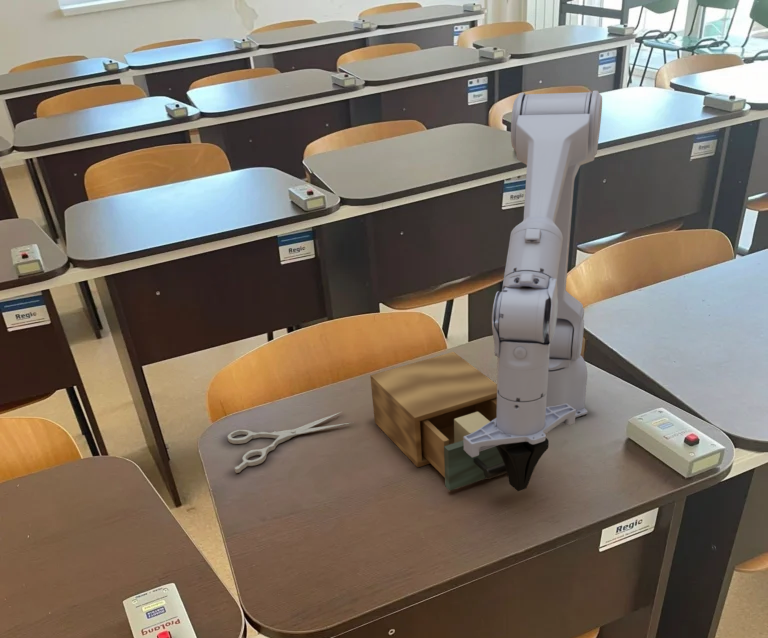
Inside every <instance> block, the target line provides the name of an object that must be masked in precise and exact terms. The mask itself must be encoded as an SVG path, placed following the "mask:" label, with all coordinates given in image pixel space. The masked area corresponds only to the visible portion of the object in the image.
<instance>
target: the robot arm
mask: <svg viewBox="0 0 768 638" xmlns="http://www.w3.org/2000/svg"><path fill="white" fill-rule="evenodd" d="M602 111H603V96H602V94H601V93H600V91H599V90H593V91H588V92H587V91H584V92H582V91H581V92H555V93H525V92H519V94H517V97H515V99H514V101H513V104H512V111H511V121H510V140H511V141H510V142H511V147H512V149H513V150H514V152H515V153H516V160H517V161H519V162H521V163H522V164H524V165H526V173H525V174H526V175H525V191H524V193H525V194H524V206H523V220H522V221H521V222H519V224H517V225H515V227H513V228H512V230H511V231H510V236H509V242H508V248H507V255H506V260H505V261H506V262H505V267H504V268H505V269H504V273H503V281H502V287H501V291H499V290H498V291H496V293H495V296H494V298H493V299H494V300H493V305H492V312H491V328H492V329H491V331H492V337H493V343H494V345H493V346H494V348H493V349H494V350H493V351H494V356H495V357H497V363H496V364H497V365H496V366H497V367H496V370H497V371H496V384H497V417H496V418H495V419H494V420H492V421H491V422H489V423H488V424H486V425H484V426H483V427H481V428H480V429H478V430H477V431H475V432H473V433H471V434H469V435H466V436H464V437H463V438H464V451H465V452H466V453H467V454H468V455H470V456H471V457H475V456H478V455H479V452H480V451H483V450H486V449H489V448H492V447H495V446H496V448H497V449H498V451H499V453H500V455H501V457H502V459H503V462H504V464H505V467H506V471H507V473H506V474H507V479H508V484H509V485H510V486H511V487H512V488H513V489H514V490H516V492H520V491H523V490H526V489H527V488H528V485H529V482H530V480H531V477H532V474H533V472H534V471H535V468H536V466H537V464H538V462H539V460H540V459H541V457H542V456H543V455H544V453H546V451H547V450H548V449H549V444H550V443H549V439H548V438H547V435H546V434H547V433H549V432H550V431H552V430H553V429H554V428H555V427H557V426H561V425H566V426H571V425H574V424H576V418H579V417H583V416H586V415H587V414H588V410H587V409H586V408H585V404H586V395H587V386H588V385H587V384H588V368H587V367H588V366H587V363H586V361H585V359H584V358H583V356H582V355H581V354H582V347H583V342H584V341H583V340H584V332H585V330H584V329H585V308H584V304H583V303H582V302H581V301H580V300H578V299H577V298H576V297H575V296H573V295H572V294H570V293H569V292H568V291H567V279H568V268H569V267H568V266H569V253H570V242H571V241H570V239H571V230H572V229H571V228H572V217H573V216H572V213H573V203H574V202H573V201H574V188H575V179H576V176H577V174H578V172H579V169H580V167H581V166H582V165H585V164H588V163H590V162H593V161H595V159H596V158H595V157H596V155H598V149H599V148H598V147H599V139H600V133H601V123H602V114H603V113H602Z"/></svg>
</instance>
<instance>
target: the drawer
mask: <svg viewBox="0 0 768 638" xmlns="http://www.w3.org/2000/svg"><path fill="white" fill-rule="evenodd" d="M474 412H479V413H480V414H482V415H483V416H484V417H485V418H486V419H488V420H489V421H490V422H491V421H492V420H494V419H495V418H496V417H497V400H496V399H495V398H493V399H490V400H487V401H483V402H480V403H477V404H474V405H471V406H467V407H464V408H461V409H458V410H454V411H451V412H448V413H445V414H441V415H438V416H435V417H432V418H428V419H425V420H422V421H420V432H421V450H422V455H423V456H424V457H425V458H426V459H427V460H428V461H429V462H430V464H431V466H432V467H434V468H435V470H437V472H439V474H440V475H441V476H442V477H443V478H444V486H445V488H446V489H447V490H448V491H453V490H455V489H456V490H457V489H459V488H462V487H464V486H468V485H470V484H473V483H476V482H479V481H482V480H484V479H486V480H490V479H492V478H495V477H498V476H501V475H505V474H507V471H506V467H505V464H504V462H503V459H502V457H501V455H500V453H499V451H498V449H497V448H496V446H495V447H492V448H489V449H486V450H483V451H480V452H479V455H478V456H475V457H471V456H470V455H468V454H467V453H466V452H465V451H464V440H462V441H459V442H456V443H454V419H455V418H458V417H462V416H465V415H468V414H471V413H474Z"/></svg>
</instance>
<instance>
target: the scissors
mask: <svg viewBox="0 0 768 638" xmlns="http://www.w3.org/2000/svg"><path fill="white" fill-rule="evenodd" d="M342 412H344V411H340V412H336V413H334V414H331V415H328V416H325V417H323V418H320V419H317V420H314V421H311V422H309V423H306V424H304V425H301V426H299V427H297V428H292V429H285V430H278V431H273V432H267V431H259V432H254V431H251V430H249V429H237V430H233V431H231V432H229V434H227V440H228V442H229V443H230V444H234V445H238V444H239V445H241V444H246V443H248V442H250V441H251V440H253V439H260V438H268V439H269V438H270V439H274V441H273V442H272V443H270V444H269V445H268V446H265V447H263V448H260V449H259V448H258V449H250V450H248V451H247V452H245V454H244V455H243V456H242V462H241V463H240V464H239V465H236V466H234V471H235V473H236V474H239V473H241V471H242V470H244V469H245V468H247V467H253V466H257V465H260V464H262V463H263V462H264V461H265V460H266V459H267V455H268V454H269V452H271V451H275V449H276V447H277V446H278V445H279V444H281V443H284V442H286V441H289V440H290V439H292V438H293V437H296V436H300V435H303V434H304V435H305V434H310V433H315V432H319V431H323V430H324V431H325V430H329V429H333V428H337V427H342V426H346V425H350V424H353V423H355V422H354V421H353V422H346V423H345V422H344V423H337V424H331V425H324V426H317V427H315V426H316V425H319V424H321V423H323V422H324V421H326V420H328V419H330V418H333V417H334V416H336V415H338V414H340V413H342ZM240 435H245V436H242V437H237V438H235V437H236V436H240ZM254 456H260V457H257V458H255V459H251V460H250V459H249V458H252V457H254Z"/></svg>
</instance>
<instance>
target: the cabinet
mask: <svg viewBox="0 0 768 638" xmlns="http://www.w3.org/2000/svg"><path fill="white" fill-rule="evenodd" d="M369 376H370V389H371V397H372V407H373V417H374V423H375V424H376V425H377V427H379V428H380V430H381V431H382V432H383V433H384V434H385V435H387V438H388V439H390V440H391V441H392V442H393V443H394V445H396V446H397V447H398V449H399V450H400V451H401V452H402V453H403V454H404V455H405V456H406V457H407V458H408V459H409V460H410V461H411V463H413V465H414V466H415V467H416V468H421V467H424V466H426V465H430V464H431V463H430V462H429V461H428V460H427V459H426V458H425V457H424V456H423V455H422V450H421V432H420V421H422V420H425V419H428V418H432V417H435V416H438V415H441V414H445V413H448V412H451V411H454V410H458V409H461V408H464V407H467V406H471V405H474V404H477V403H480V402H483V401H487V400H490V399H493V398H495V399H496V400H497V382H495V381H493V380H492V379H490V378H489V377H488V376H487V375H486V374H484V373H483V372H481V371H480V370H479V369H477V368H476V367H474V366H473V365H472V364H471V363H469V362H468V361H467V360H466V359H464V358H463V357H462V356H460V355H459V354H458V353H457V352H455V351H450V352H447V353H444V354H441V355H440V354H439V355H437V356H433V357H429V358H425V359H422V360H419V361H416V362H412V363H409V364H405V365H402V366H397V367H394V368H390V369H387V370H384V371H380V372H376V373H373V374H370V375H369Z"/></svg>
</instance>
